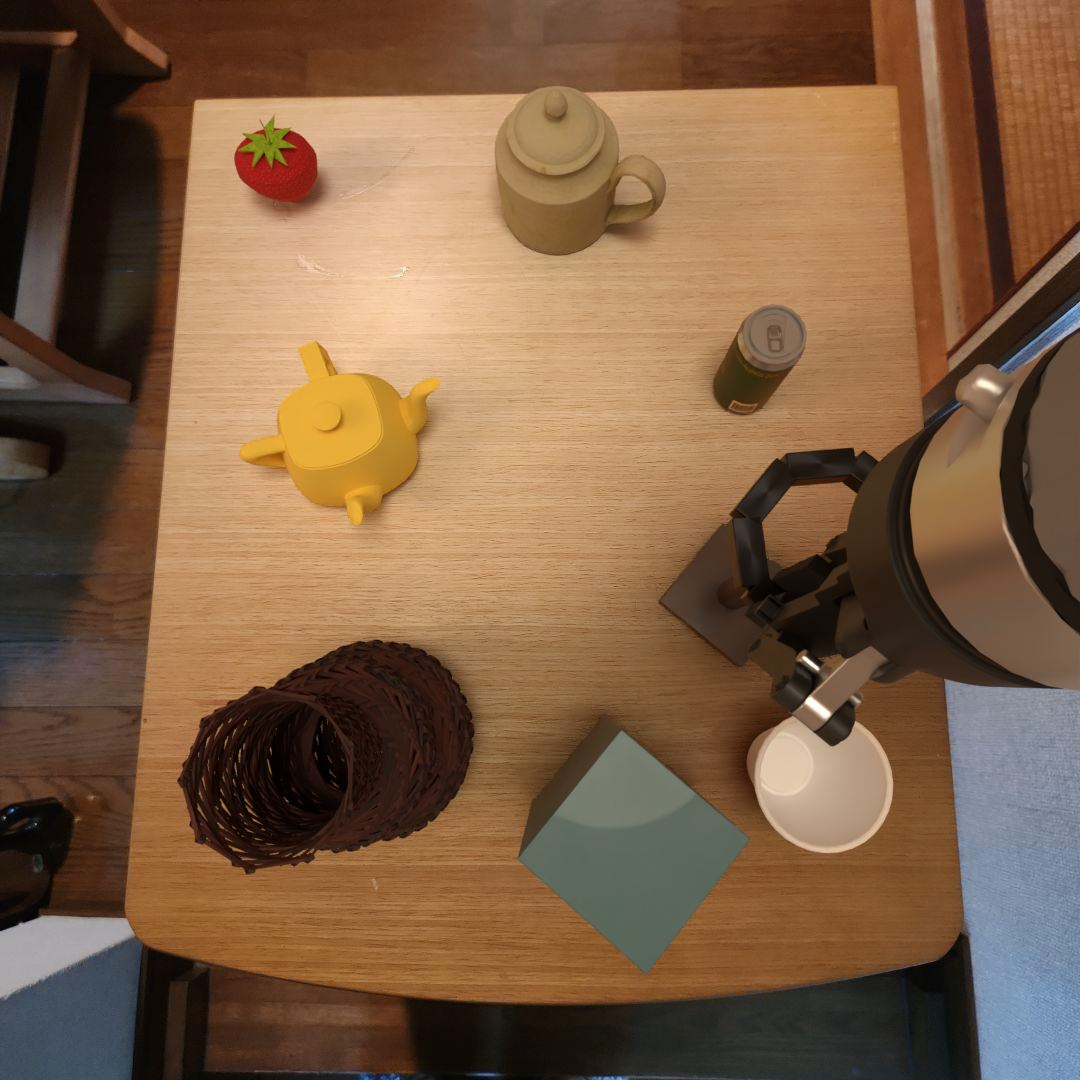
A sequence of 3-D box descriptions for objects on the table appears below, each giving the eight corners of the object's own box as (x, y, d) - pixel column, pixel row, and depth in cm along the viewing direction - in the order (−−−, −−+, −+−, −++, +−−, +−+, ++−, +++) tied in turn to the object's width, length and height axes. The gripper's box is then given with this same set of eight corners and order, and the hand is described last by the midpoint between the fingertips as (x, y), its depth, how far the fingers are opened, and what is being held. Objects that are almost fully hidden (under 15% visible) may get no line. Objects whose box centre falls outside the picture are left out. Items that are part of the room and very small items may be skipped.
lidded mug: (652, 151, 77) (673, 27, 62) (655, 255, 75) (677, 152, 60) (501, 154, 77) (487, 32, 62) (501, 257, 75) (486, 156, 60)
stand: (695, 790, 66) (750, 839, 47) (621, 884, 65) (646, 975, 46) (604, 712, 68) (621, 729, 48) (530, 804, 67) (517, 858, 47)
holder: (800, 589, 69) (856, 569, 56) (738, 668, 68) (780, 666, 55) (719, 526, 70) (756, 491, 57) (657, 602, 69) (679, 585, 56)
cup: (857, 734, 67) (914, 746, 56) (814, 844, 65) (864, 878, 55) (749, 685, 68) (785, 687, 57) (705, 792, 66) (733, 815, 56)
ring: (958, 537, 43) (973, 532, 42) (844, 684, 42) (856, 684, 40) (805, 421, 45) (814, 411, 43) (690, 560, 43) (695, 555, 42)
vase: (484, 643, 69) (426, 622, 39) (480, 824, 66) (415, 946, 37) (313, 641, 70) (129, 619, 40) (303, 821, 67) (97, 939, 37)
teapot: (385, 546, 71) (356, 526, 61) (260, 480, 72) (213, 450, 62) (457, 417, 73) (441, 378, 63) (334, 356, 74) (299, 308, 64)
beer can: (771, 415, 72) (812, 365, 60) (713, 417, 72) (742, 367, 60) (767, 360, 73) (807, 300, 61) (709, 362, 73) (738, 302, 61)
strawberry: (258, 174, 78) (213, 101, 68) (333, 167, 78) (299, 94, 68) (258, 228, 77) (213, 162, 67) (334, 221, 76) (300, 154, 67)
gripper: (1093, 222, 20) (807, 464, 43) (742, 665, 18) (641, 669, 41) (1357, 400, 19) (919, 549, 42) (1011, 884, 17) (753, 762, 41)
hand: (781, 608), depth 42 cm, fingers closed on ring, 2 cm apart
